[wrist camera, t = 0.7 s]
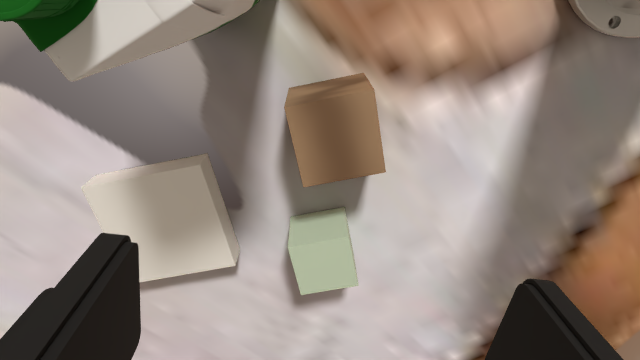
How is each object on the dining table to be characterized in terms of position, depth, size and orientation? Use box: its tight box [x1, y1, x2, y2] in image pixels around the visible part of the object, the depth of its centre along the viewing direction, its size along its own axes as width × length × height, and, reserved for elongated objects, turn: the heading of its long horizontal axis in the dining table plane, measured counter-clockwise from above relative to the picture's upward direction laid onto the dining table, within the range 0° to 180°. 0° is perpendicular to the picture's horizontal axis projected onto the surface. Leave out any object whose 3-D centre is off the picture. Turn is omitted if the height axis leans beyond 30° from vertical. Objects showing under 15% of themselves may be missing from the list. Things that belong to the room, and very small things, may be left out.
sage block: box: [288, 207, 358, 295], centre depth 36 cm, size 5×5×5 cm
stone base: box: [81, 153, 240, 282], centre depth 35 cm, size 10×10×2 cm
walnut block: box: [284, 73, 386, 187], centre depth 30 cm, size 6×6×6 cm
